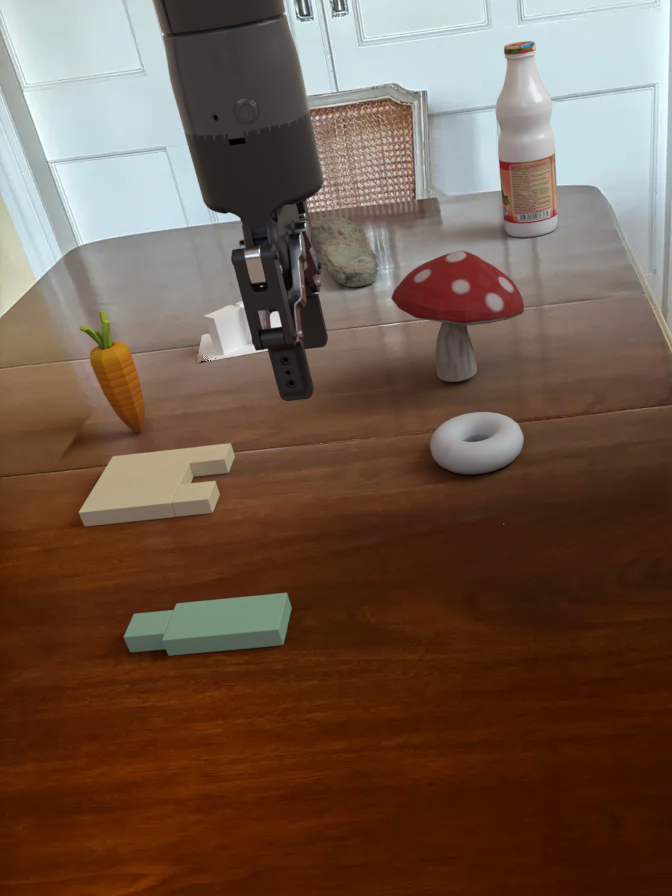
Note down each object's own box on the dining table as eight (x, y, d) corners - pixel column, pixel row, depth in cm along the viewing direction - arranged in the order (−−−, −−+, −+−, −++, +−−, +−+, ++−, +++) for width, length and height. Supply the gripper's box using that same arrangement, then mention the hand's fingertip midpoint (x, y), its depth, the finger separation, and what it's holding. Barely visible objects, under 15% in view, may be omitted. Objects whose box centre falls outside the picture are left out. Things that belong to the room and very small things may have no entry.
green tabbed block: (292, 608, 79) (287, 592, 78) (283, 645, 75) (278, 629, 74) (143, 622, 80) (136, 606, 79) (127, 660, 76) (119, 644, 75)
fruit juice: (537, 240, 151) (525, 49, 134) (493, 235, 157) (477, 50, 139) (569, 224, 156) (561, 37, 139) (526, 219, 162) (514, 38, 144)
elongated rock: (331, 303, 143) (392, 293, 145) (327, 270, 140) (389, 260, 141) (302, 235, 169) (353, 227, 171) (297, 205, 166) (350, 198, 168)
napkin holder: (298, 317, 136) (290, 279, 133) (300, 344, 128) (291, 305, 124) (201, 335, 136) (189, 297, 132) (195, 363, 127) (183, 324, 123)
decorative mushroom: (428, 348, 121) (411, 233, 112) (543, 349, 116) (535, 229, 107) (386, 402, 109) (364, 279, 100) (512, 406, 104) (500, 277, 95)
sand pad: (235, 456, 103) (230, 442, 102) (213, 513, 94) (208, 498, 92) (118, 469, 104) (112, 456, 103) (84, 526, 95) (78, 512, 94)
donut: (535, 437, 98) (449, 431, 101) (533, 408, 96) (446, 403, 99) (509, 485, 91) (418, 476, 94) (507, 455, 89) (414, 447, 92)
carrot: (130, 446, 108) (83, 327, 99) (112, 435, 112) (65, 318, 102) (166, 430, 111) (124, 312, 102) (148, 420, 114) (105, 304, 105)
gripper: (209, 101, 59) (270, 338, 69) (152, 149, 48) (235, 424, 58) (322, 85, 58) (367, 326, 68) (290, 130, 47) (349, 411, 57)
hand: (306, 370), depth 63 cm, fingers open, 8 cm apart
